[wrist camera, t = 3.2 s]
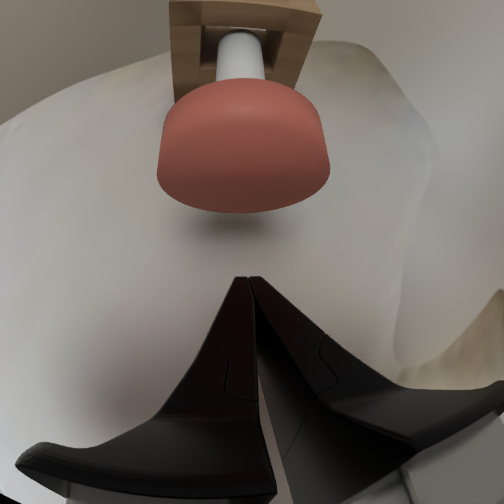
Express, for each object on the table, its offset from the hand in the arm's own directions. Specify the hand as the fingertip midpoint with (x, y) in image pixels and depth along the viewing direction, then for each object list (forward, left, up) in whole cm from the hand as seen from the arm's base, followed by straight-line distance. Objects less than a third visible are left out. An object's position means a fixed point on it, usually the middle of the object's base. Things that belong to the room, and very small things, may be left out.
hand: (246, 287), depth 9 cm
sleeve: (+12, -7, -8) cm, 16 cm away
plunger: (+7, -4, -3) cm, 8 cm away
